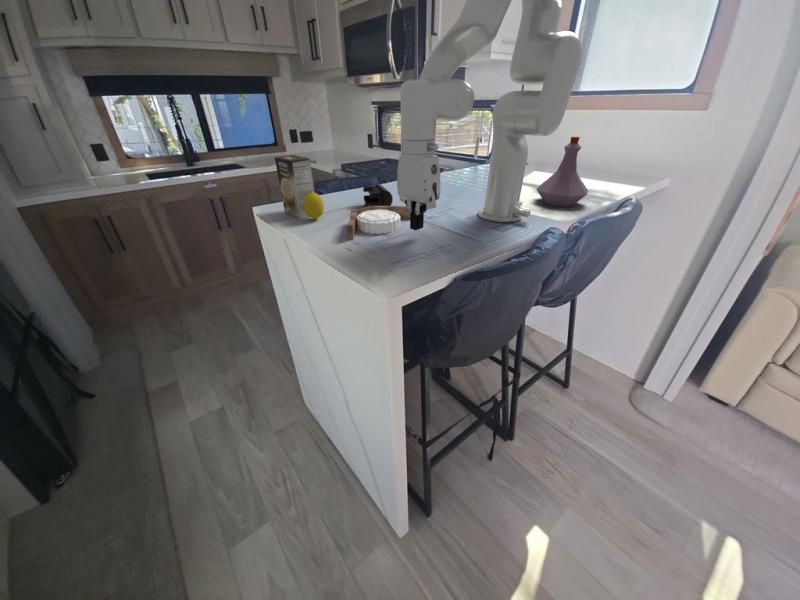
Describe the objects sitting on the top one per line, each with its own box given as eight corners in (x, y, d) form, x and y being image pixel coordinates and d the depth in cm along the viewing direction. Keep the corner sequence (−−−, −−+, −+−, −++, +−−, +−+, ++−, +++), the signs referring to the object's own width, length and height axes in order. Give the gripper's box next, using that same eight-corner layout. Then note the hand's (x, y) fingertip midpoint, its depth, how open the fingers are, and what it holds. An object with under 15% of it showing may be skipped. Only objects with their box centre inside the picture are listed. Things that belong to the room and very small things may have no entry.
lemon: (308, 223, 92) (304, 194, 88) (304, 218, 96) (299, 190, 92) (327, 220, 94) (324, 192, 90) (322, 215, 99) (318, 188, 94)
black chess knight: (393, 211, 103) (392, 189, 99) (371, 213, 101) (370, 190, 97) (384, 202, 111) (383, 182, 107) (363, 204, 109) (362, 183, 105)
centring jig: (415, 218, 96) (415, 206, 95) (350, 240, 82) (349, 226, 80) (392, 211, 102) (391, 199, 100) (327, 230, 87) (325, 217, 86)
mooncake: (409, 228, 90) (409, 215, 88) (373, 238, 83) (372, 224, 82) (383, 217, 98) (383, 205, 96) (348, 226, 91) (347, 213, 90)
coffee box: (283, 213, 101) (273, 156, 92) (301, 208, 105) (293, 154, 96) (300, 219, 95) (290, 160, 87) (318, 214, 99) (310, 157, 91)
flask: (549, 194, 120) (564, 133, 110) (595, 204, 109) (615, 137, 98) (523, 201, 112) (535, 136, 101) (569, 213, 101) (589, 141, 90)
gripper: (456, 149, 70) (450, 231, 79) (405, 143, 78) (405, 218, 88) (433, 153, 65) (430, 240, 75) (382, 146, 74) (385, 225, 84)
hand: (416, 228), depth 81 cm, fingers closed
